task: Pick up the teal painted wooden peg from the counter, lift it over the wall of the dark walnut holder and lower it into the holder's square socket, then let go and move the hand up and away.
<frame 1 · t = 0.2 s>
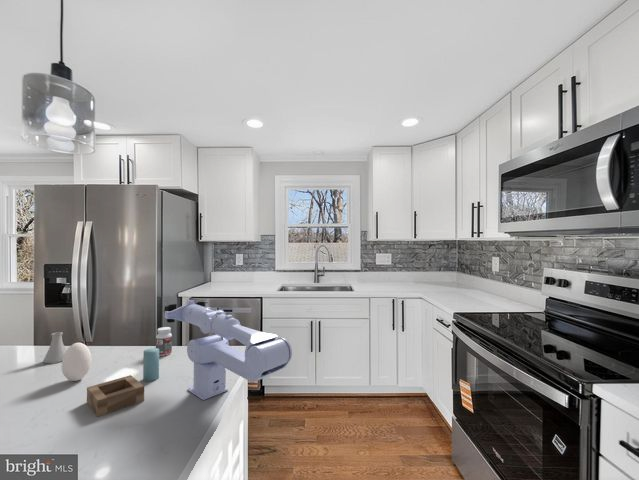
hand: (177, 308, 104), 21 cm above the worktop, tool horizontal, fingers open, 7 cm apart
flask: (56, 361, 113), on the worktop
egg: (76, 381, 97), on the worktop
pill bottle: (163, 354, 120), on the worktop
teal peg: (151, 378, 98), on the worktop
walnut holder: (115, 401, 84), on the worktop
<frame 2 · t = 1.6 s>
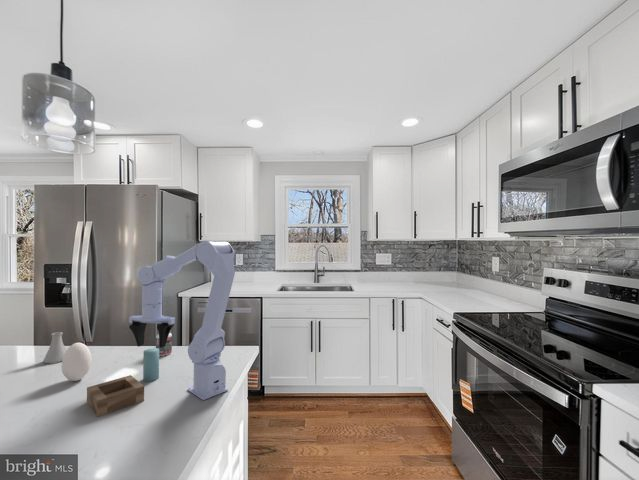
hand: (151, 345, 98), 10 cm above the worktop, tool pointing down, fingers open, 7 cm apart
nothing on the worktop moved.
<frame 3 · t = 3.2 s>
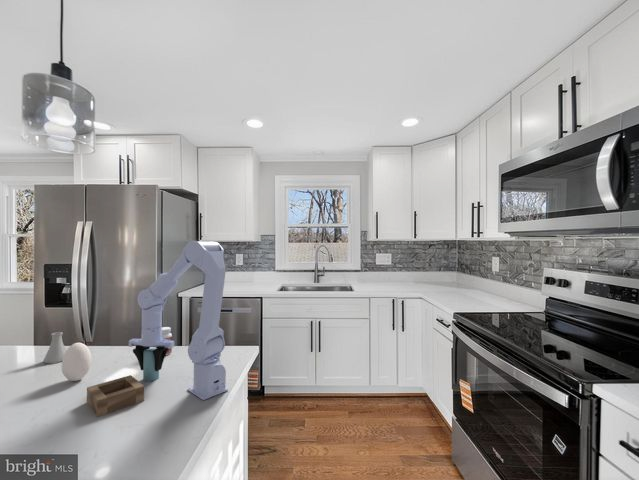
hand: (151, 369, 98), 3 cm above the worktop, tool pointing down, fingers closed on teal peg, 4 cm apart
teal peg: (151, 378, 98), on the worktop, touching gripper
everything else where it was.
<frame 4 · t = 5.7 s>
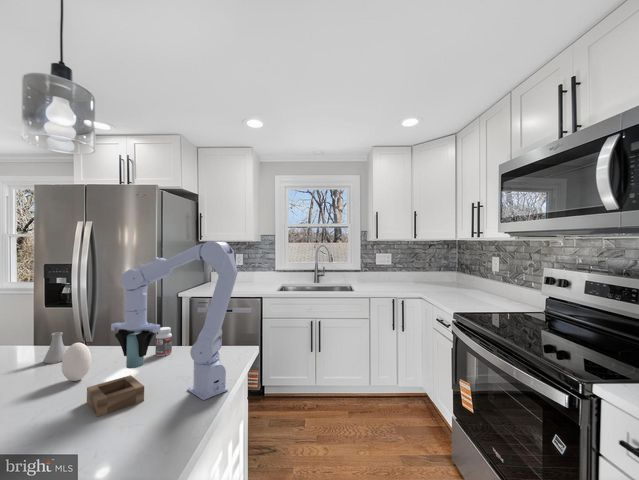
hand: (135, 355, 91), 10 cm above the worktop, tool pointing down, fingers closed on teal peg, 4 cm apart
teal peg: (135, 365, 91), point 7 cm above the worktop, touching gripper
everything else where it was.
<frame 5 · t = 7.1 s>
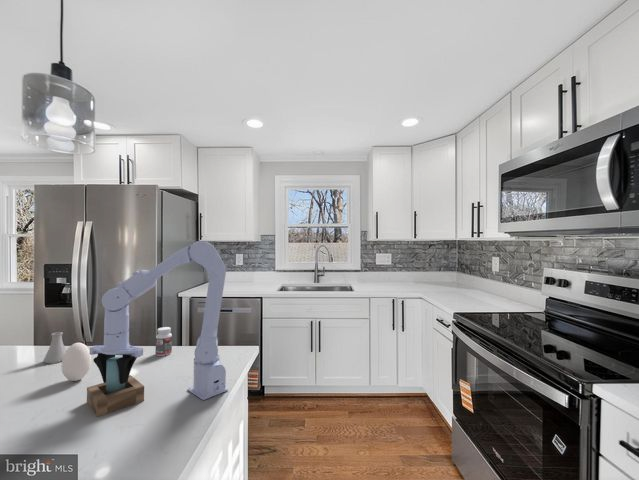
hand: (115, 381, 84), 5 cm above the worktop, tool pointing down, fingers closed on teal peg, 4 cm apart
teal peg: (115, 392, 84), point 2 cm above the worktop, touching gripper
everything else where it was.
when the fingers open (4 cm above the worktop, at t = 8.2 s): teal peg drops 1 cm, resting in walnut holder.
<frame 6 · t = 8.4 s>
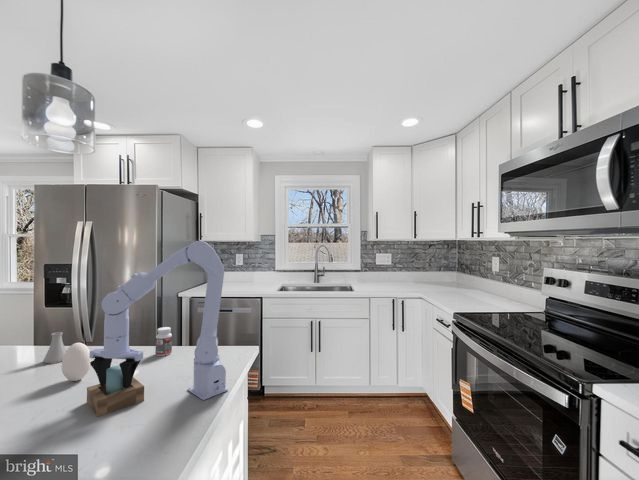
hand: (115, 385, 84), 4 cm above the worktop, tool pointing down, fingers open, 6 cm apart
teal peg: (115, 401, 84), resting in walnut holder
everything else where it was.
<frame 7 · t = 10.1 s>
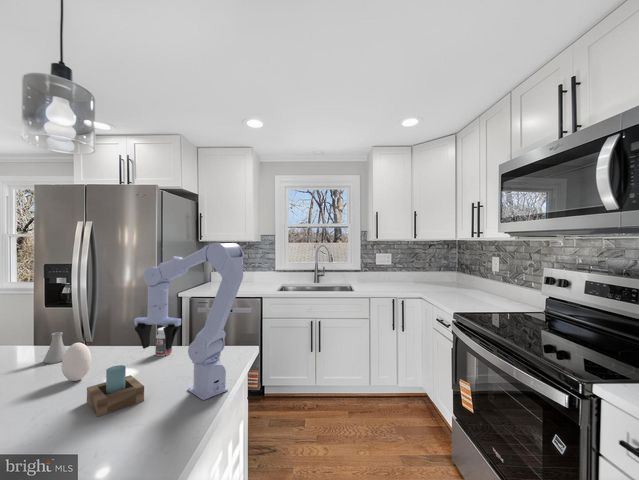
hand: (157, 348, 97), 10 cm above the worktop, tool pointing down, fingers open, 7 cm apart
nothing on the worktop moved.
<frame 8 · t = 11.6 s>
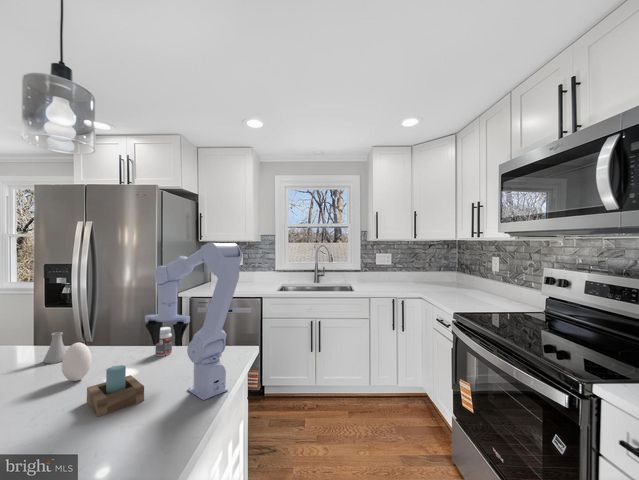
hand: (167, 344, 100), 10 cm above the worktop, tool pointing down, fingers open, 7 cm apart
nothing on the worktop moved.
at the end: teal peg 0.0 cm off-centre on the walnut holder, point 0.0 cm above the walnut holder's base; teal peg tilted 0°; the gripper is holding nothing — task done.
